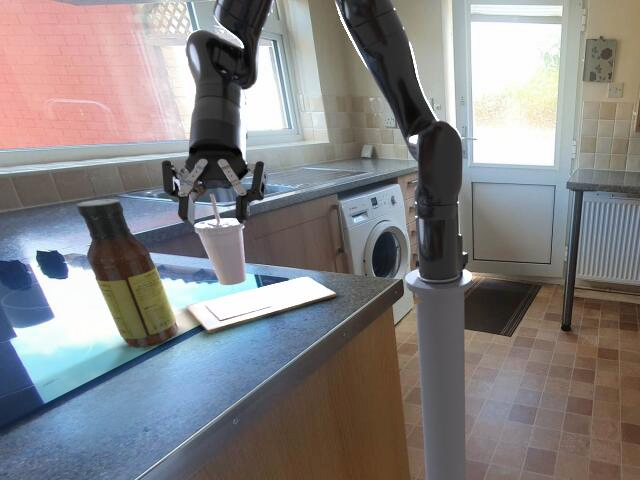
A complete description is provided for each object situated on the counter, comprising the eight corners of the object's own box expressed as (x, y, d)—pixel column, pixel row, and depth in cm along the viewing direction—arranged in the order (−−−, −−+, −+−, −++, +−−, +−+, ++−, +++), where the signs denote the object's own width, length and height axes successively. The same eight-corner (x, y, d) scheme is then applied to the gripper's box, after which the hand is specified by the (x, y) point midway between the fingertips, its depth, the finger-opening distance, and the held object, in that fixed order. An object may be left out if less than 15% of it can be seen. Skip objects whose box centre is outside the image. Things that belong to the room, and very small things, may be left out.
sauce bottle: (179, 324, 63) (139, 195, 56) (179, 341, 59) (135, 203, 51) (123, 335, 60) (72, 199, 52) (118, 354, 55) (61, 208, 47)
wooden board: (307, 278, 82) (306, 275, 82) (337, 296, 75) (336, 292, 75) (186, 309, 68) (185, 305, 68) (208, 333, 61) (207, 329, 61)
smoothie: (254, 271, 71) (235, 190, 66) (257, 283, 66) (238, 197, 61) (209, 278, 68) (185, 192, 62) (209, 291, 63) (184, 200, 57)
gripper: (154, 114, 61) (142, 209, 56) (262, 118, 66) (261, 206, 60) (177, 148, 68) (169, 236, 62) (274, 150, 73) (274, 232, 67)
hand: (214, 221), depth 61 cm, fingers closed on smoothie, 6 cm apart
